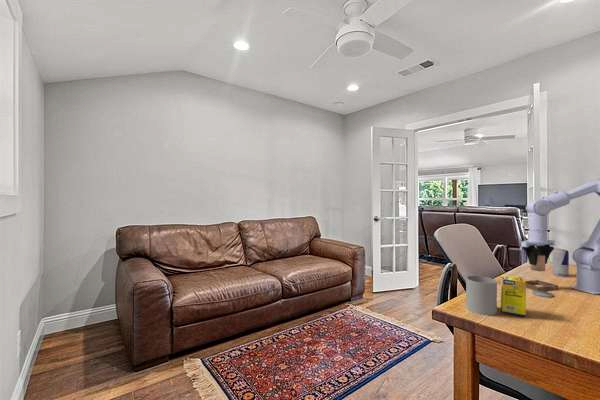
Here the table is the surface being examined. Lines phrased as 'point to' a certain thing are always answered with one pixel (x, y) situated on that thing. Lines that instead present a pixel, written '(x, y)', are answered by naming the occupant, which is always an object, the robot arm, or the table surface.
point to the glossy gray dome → (542, 293)
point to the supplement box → (513, 295)
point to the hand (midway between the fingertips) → (537, 264)
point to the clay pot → (539, 263)
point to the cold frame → (544, 286)
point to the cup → (481, 295)
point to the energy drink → (561, 262)
